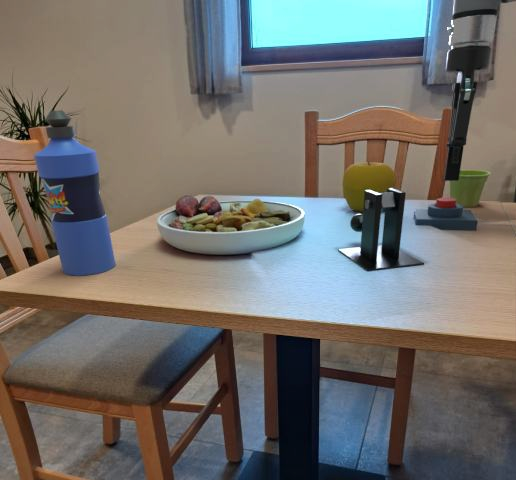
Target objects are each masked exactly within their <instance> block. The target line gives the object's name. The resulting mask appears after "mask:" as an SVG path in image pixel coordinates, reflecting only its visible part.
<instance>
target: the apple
mask: <svg viewBox="0 0 516 480" xmlns="http://www.w3.org/2000/svg"><path fill="white" fill-rule="evenodd" d="M396 185H397V175H396V172H395V171H394V169H393V167H391V166H390V165H389V164H387V163H384V162H374V161H373V162H372V161H371V162H370V161H365V162H363V161H361V162H355V163H353V164H350V165H349V166H348V167H347V168H346V170H345V171H344V173H343V175H342V185H341V186H342V193H343V196H344V198H345V201H346V203H347V205H348V207H349V208H350V210H352V211H354V212H358V213H363V207H364V193H365V190H371V191H374V192H377V193H386V192H387V189H389V188H393V189H396V188H395V187H396Z"/></svg>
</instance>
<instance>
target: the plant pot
mask: <svg viewBox="0 0 516 480" xmlns="http://www.w3.org/2000/svg"><path fill="white" fill-rule="evenodd" d="M490 175H491V171H488V170H477V169H460V174H459V181H449V198H454V199H456V200H457V201H456V204H459V205H462V206H463V208H474V207H478V206H479V203H480V200H481V196H482V193H483V191H484V187H485V184H486V182H487V181H488V178H489V176H490Z"/></svg>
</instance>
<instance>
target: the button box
mask: <svg viewBox="0 0 516 480" xmlns="http://www.w3.org/2000/svg"><path fill="white" fill-rule="evenodd" d="M412 218H413V220H414V224H415V226H427V227H432V228H435V229H438V230H439V231H464V232H465V231H467V232H468V231H471V232H475V231H477V226H478V219H477V217H476V216H475V214H474V213H473V211H472V210H471V209H464V207H463V206H462V205H459V204H456V207H455V208H439V207H436V202H435V203H430V204H428V205H427V209H423V208H421V209H420V208H419V209H418V208H415V209H413V217H412Z"/></svg>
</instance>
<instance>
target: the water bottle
mask: <svg viewBox="0 0 516 480" xmlns="http://www.w3.org/2000/svg"><path fill="white" fill-rule="evenodd" d="M44 120H45V121H46V123H47V124H49V125H50V126H46V127H45V133H46V136H47V139H50V140H49V141H48V143H47V145H46V146H44V147H43V148H42V149H40V150H39V151H37V152H35V153H34V154H33V157H34V161H35V166H36V170H37V173H38V177H39V178H40V180H41V183H42V186H43V188H44V191H45V195H46V197H47V200H48V202H49V204H48V205H49V212H50V222H51V228H52V231H53V236H54V240H55V244H56V249H57V253H58V257H59V261H60V265H61V269H62V273H64V274H65V275H68V276H80V277H81V276H90V275H91V276H92V275H96V274H101V273H105V272H107V271H110V270H112V269H114V268H115V267H116V259H115V254H114V248H113V243H112V242H113V241H112V238H111V237H112V236H111V231H110V227H109V221H108V216H107V214H106V209H105V207H104V205H103V201H102V197H101V188H100V187H101V186H100V166H99V161H98V156H97V151H96V150H95V149H93V148H90V147H88V146H86V145H83V144H81V143H80V142H79V141H78V140H77V139H76V138H75V137H77V134H76V129H75V125H69V124H70V123H71V121H72V117H71V116H70V115H68V113H66V112H65V111H64V110H50V111H49V112H48V114H47V116H46V117H45V118H44Z"/></svg>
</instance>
